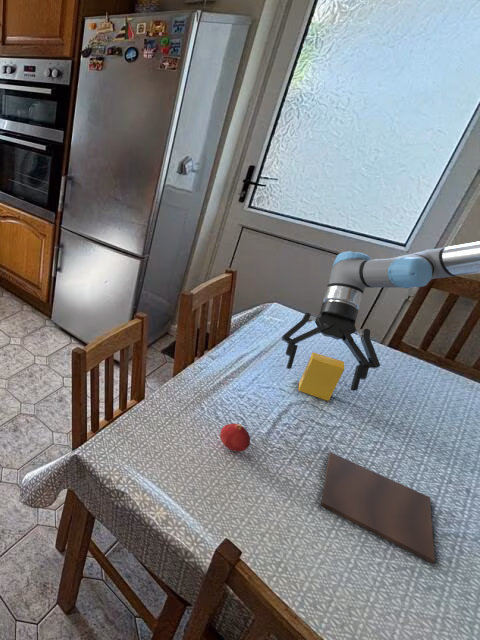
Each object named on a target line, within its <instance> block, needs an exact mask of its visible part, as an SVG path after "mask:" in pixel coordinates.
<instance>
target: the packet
mask: <svg viewBox="0 0 480 640" xmlns="http://www.w3.org/2000/svg"><path fill="white" fill-rule="evenodd" d="M344 371H345V361H343V360H341V359H336V358H333V357H330V356H327V355H324V354H321V353H317V352H311V355H310V358H309V359H308V362H307V364H306V366H305V369H304V371H303V373H302V375H301V378H300V379H299V381H298V391H299V392H302V393H304V394H307V395H310V396H313V397H315V398H318V399H320V400H324V401H327V402H329V401H330V400H331V398H332V396H333V394H334V391H335V390H336V387H337V385H338V383H339V381H340V379H341V377H342V376H343V373H344Z"/></svg>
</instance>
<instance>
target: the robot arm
mask: <svg viewBox="0 0 480 640" xmlns="http://www.w3.org/2000/svg"><path fill="white" fill-rule="evenodd" d="M476 274H480V241H475V242H469V243H462V244H457V245H451V246H450V245H449V246H446V247H440V248H428V249H423V250H420V251H418V252H412V253H408V254H403V255H399V256H395V257H391V258H389V257H388V258H379V259H372V258H371V257H370V256H369V255H367V254H366V253H363V252H359V251H355V252H353V251H343V252H340V253H339V254H337V255H336V257H335V259H334V262H333V264H332V265H331V271H330V276H329V281H328V284H327V287H326V290H325V293H324V296H323V299H322V300H323V302H322V303H321V306H320V310H319V314H318V316H314V315H311V313H310V312H306V313H304V315H303V316H302V319H301V320H300V321H299V322H298V323H296V324H295V325H294V326H292V327H291V328H290V329H289V330H288V331H287V332H285V333H284V334H283V335H282V336H281V338H280V339H281V341H282V342H285V343H286V344H287V347H286V350H285V355H286V356H287V357H288V361H287V364H286V369H288V370H290V369H292V367H293V364H294V360H295V357H296V354H297V350H298V347H299V345H298V344H299V343H301V342H302V341H305V340H308V339H309V338H312V337H313V336H316V335H318V334H321V335H323V336H324V337H327V338H331V339H333V340H337V341H338V340H342V342H343V343H344V344H345V345H346V347H347V348H348V349H349V351H350V352H351V354H352V355H353V356H354V358H355V359H356V361H357V363H358V365H356V366H355V370H354V374H353V379H352V382H351V385H350V391H354V392H355V391H358V390H359V386H360V381H361V380H362V381H364V380H366V379H367V377H368V372H369V369H378V368H380V367H381V363H380V361H379V358H378V355H377V353H376V350H375V348H374V345H373V342H372V340H371V330H370V329H369V328H357V327H356V322H357V318H358V314H359V309H360V307H361V303H362V299H363V295H364V292H365V289H366V288H371V289H372V288H392V289H393V288H394V289H395V288H396V289H397V288H400V289H402V288H403V289H411V288H422V287H426V286H428V284H429V282H431V280H434V279H444V278H452V277H453V278H454V277H459V276H467V275H476ZM312 322H314V323H315V325H316V327H315V328H313V329H311V330H308V331H307V332H304V333H302V334H300V335H298V336H296V337H293V338H291V337H292V336H293V335H294V334H296V333H297V332H299V330H301V329H302V328H303V327H304V326H305V325H306V324H307V323H308V324H310V323H312ZM354 333H355V334H357V337H358V338H360V342H361V344H362V347H363V350H364V352H365V355H364V353H363V351H362V350H361V349H360V347H359V345H358V344H357V343H356V341H355V339H354V338H353V336H352V335H353V334H354Z"/></svg>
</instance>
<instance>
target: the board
mask: <svg viewBox="0 0 480 640" xmlns="http://www.w3.org/2000/svg"><path fill="white" fill-rule="evenodd" d="M322 489H323V490H322V494H321V495H322V496H321V502H320V506H321V507H323V508H325V509H326V510H329V511H330V512H332V513H334V514H336V515H338V516H340V517H342V518H344V519H346V520H348V521H349V522H351V523H353V524H355V525H357V526H359V527H361V528H363V529H365V530H367V531H368V532H371V533H372V534H374V535H376V536H378V537H381V538H382V539H384V540H386V541H388V542H390V543H392V544H394V545H395V546H397V547H399V548H401V549H404V550H405V551H407V552H408V553H411V554H413V555H414V556H417V557H419V558H420V559H422V560H424V561H426V562H428V563H430V564H434V563H435V562H436V554H435V543H434V531H433V520H432V508H431V497H430V496H429V495H427V494H424V493H422V492H420V491H417V490H415V489H413V488H410V487H408V486H406V485H404V484H402V483H399V482H398V481H395V480H393V479H391V478H389V477H386V476H384V475H382V474H380V473H377V472H375V471H374V470H371V469H368V468H366V467H364V466H362V465H359V464H357V463H355V462H353V461H351V460H349V459H346V458H345V457H342V456H341V455H337V454H335V453H333V452H329V453H328V458H327V463H326V470H325V475H324V483H323V488H322Z"/></svg>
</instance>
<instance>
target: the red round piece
mask: <svg viewBox="0 0 480 640" xmlns="http://www.w3.org/2000/svg"><path fill="white" fill-rule="evenodd" d="M219 438H220V439H221V440H220V441H221V443H222V444H223V445H224V446H225V448H227V449H228V450H229V451H231V452H232V451H233V452H243V451H246V450H247V449H248V448H249V447H250V443H251V437H250V434H249V431H247V429H246V428H245V427H244V426H243V425H241V424H240V423H233V422H232V423H228V424H225V425H224V426H223V427H222V428H221V430H220V434H219Z"/></svg>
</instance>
